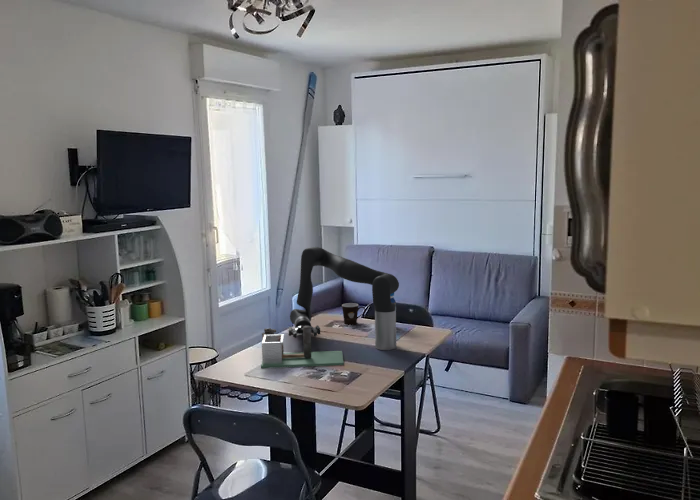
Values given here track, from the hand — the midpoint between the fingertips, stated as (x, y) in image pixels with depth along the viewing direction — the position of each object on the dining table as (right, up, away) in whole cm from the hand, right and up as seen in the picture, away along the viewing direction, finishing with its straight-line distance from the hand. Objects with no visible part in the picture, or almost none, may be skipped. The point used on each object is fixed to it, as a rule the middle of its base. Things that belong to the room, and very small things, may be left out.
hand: (305, 335), depth 256 cm
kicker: (-4, -8, -9) cm, 13 cm away
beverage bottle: (+39, -2, +39) cm, 55 cm away
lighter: (-16, -8, +6) cm, 19 cm away
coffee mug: (+21, -1, +48) cm, 52 cm away
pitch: (0, -9, -9) cm, 13 cm away
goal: (-13, -9, -10) cm, 18 cm away
